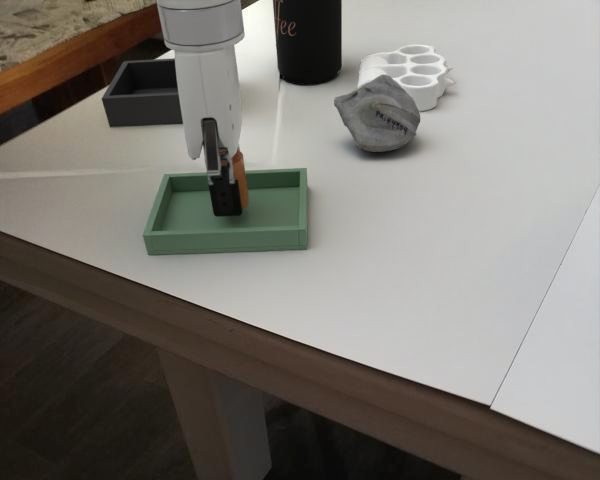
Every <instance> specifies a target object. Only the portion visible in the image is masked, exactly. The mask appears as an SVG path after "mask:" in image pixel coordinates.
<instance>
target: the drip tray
mask: <svg viewBox="0 0 600 480" xmlns="http://www.w3.org/2000/svg"><path fill="white" fill-rule="evenodd" d="M245 173H246V181H247V188H248V196H249V204H248V206H247V207H246V208H244V209H243V210H242V214H241V215H240V216H220V217H217V216H215V215H214V213H213V208H212V202H211V197H210V191H209V186H208V177H207V171H206V172H205V171H204V172H203V171H202V172H183V173H163V176H162V178H161V182H160V185H159V187H158V190H157V193H156V196H155V199H154V202H153V204H152V207H151V210H150V213H149V216H148V219H147V221H146V225H145V228H144V231H143V233H142V238H143V242H144V245H145V248H146V253H147V255H148V256H158V255H160V256H161V255H183V254H184V255H185V254H211V253H213V254H214V253H215V254H216V253H237V252H238V253H241V251H243V252H263V251H264V252H265V251H266V252H268V251H269V252H270V251H291V250H293V251H295V250H307V249H308V193H309V192H308V190H309V189H308V187H309V186H308V168H307V167H296V168H273V169H271V168H270V169H251V170H250V169H249V170H247V169H246V170H245Z"/></svg>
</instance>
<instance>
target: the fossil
mask: <svg viewBox="0 0 600 480" xmlns="http://www.w3.org/2000/svg"><path fill="white" fill-rule="evenodd" d="M333 106H334V107H335V108H336V110H337V112H338V114H339V116H340V118H341V121H342V123H343V125H344V126H345V128H346V129H347V130H348V131H349V133H350V135H351V136H352V137H353V140H354V142H355V143H356V144H357V145H358V147H359V148H361V149H362V150H364V151H367V152H372V153H376V152H377V153H378V152H379V153H384V152H390V151H393V150H397V149H401V148H402V147H403V146H405V145H406V144H407V143H408V142H409V141H410V140H412V139H414V138H415V137H416V136H417V130H418V128H419V126H420V123H421V114H420V111H419V110H418V108H417V106H416V104H415V102H414V100H413V98H412V97H411V96H410V95H409V94H407V92H406V91H405V90H404V89H403V88H402V87H401V86H400V85H399V84H398V83H397V82H396V81H395V80H393V79H392V78H391V77H390V76H388V75H380V76H378V77H377V78H375V79H374V80H372V81H371V82H369V83H367V84H365V85H364V86H362V87H360V88H359V89H358V90H357V89H356V90H355V89H354V90H353V91H351V92H350V93H346V94H343V95H338V96H335V97H334V99H333Z"/></svg>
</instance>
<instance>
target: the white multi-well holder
mask: <svg viewBox="0 0 600 480" xmlns="http://www.w3.org/2000/svg"><path fill="white" fill-rule="evenodd" d="M359 63H360V65H359V71H358V81H357V85H356V91H357V90H358V89H359V88H360V87H362V86H364V85H365V84H367V83H369V82H371V81H372V80H374V79H375V78H377V77H378V76H380V75H388V76H390V77H391V78H392V79H393V80H395V81H396V82H397V83H398V84H399V85H400V86H401V87H402V88H403V89H404V90H405V91H406V92H407V94H409V95H410V96H411V97H412V98H413V100H414V102H415V104H416V106H417V108H418V110H419V112H424V111H425V112H426V111H429V110H431V109H434V108H435V107H436V106H437V105H438V99H439V98H440V97H442V96H443V94H444V93H445V90H446V88H448V87H450V86H453V85H454V84H456V82H455V81H454V80H452V79H450V78H449V77H448V73H449V72H450V71H452V70H453V69H454V68H453V67H451V66H449V65H447V59H445V57H444V56H443V55H440V54H437V53H436V48H435V47H434V46H432V45H427V44H415V43H414V44H408V45H403V46H401V47H399V48H398V49H397V50H394V51H390V52H389V51H385V52H383V51H381V52H379V51H378V52H375V53H370V54H367V55H366V56H364V57H363V58H362V59H360V61H359Z"/></svg>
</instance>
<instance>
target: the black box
mask: <svg viewBox="0 0 600 480" xmlns="http://www.w3.org/2000/svg"><path fill="white" fill-rule="evenodd" d="M101 102H102V105H103V109H104V112H105V115H106V119H107V123H108V126H109V128H122V127H123V128H125V127H142V126H143V127H144V126H145V127H146V126H163V125H165V126H167V125H183V119H182V113H181V106H180V100H179V93H178V85H177V77H176V67H175V57H173V58H158V59H157V58H156V59H155V58H154V59H139V60H137V59H136V60H124V61H123V62H122V63H121V65H120V67H119V68H118V70H117V71H116V73H115V75H114V77H113V79H112V80H111V81H110V84H109V85H108V87H107V88H106V90H105V92H104V93H103V95H102V97H101Z"/></svg>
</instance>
